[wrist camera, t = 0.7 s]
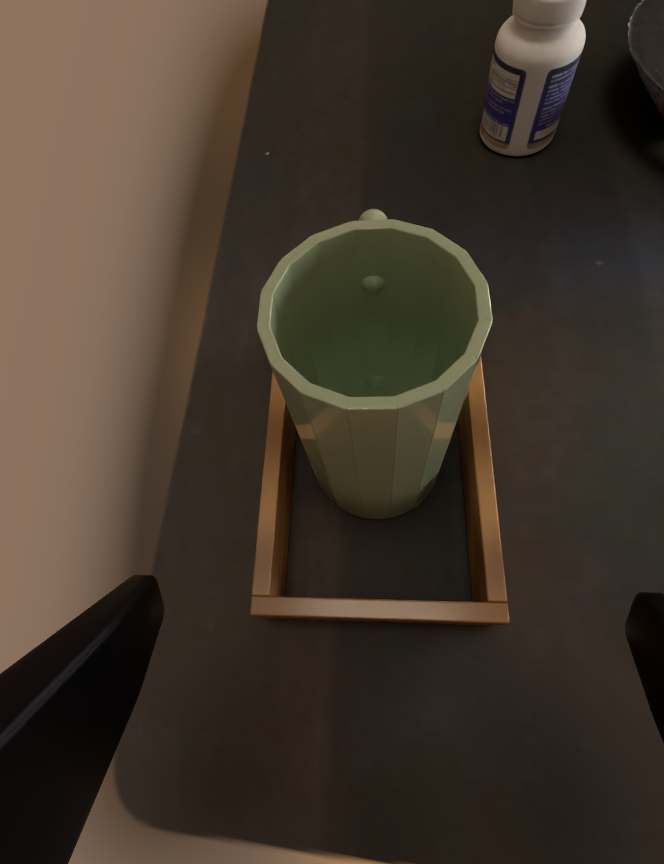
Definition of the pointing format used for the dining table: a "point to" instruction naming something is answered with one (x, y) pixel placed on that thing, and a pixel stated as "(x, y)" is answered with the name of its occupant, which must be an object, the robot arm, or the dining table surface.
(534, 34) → the pill bottle
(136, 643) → the robot arm
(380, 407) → the green faceted mug
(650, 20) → the dark stone plate
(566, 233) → the dining table surface
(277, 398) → the brown wooden rectangular frame
